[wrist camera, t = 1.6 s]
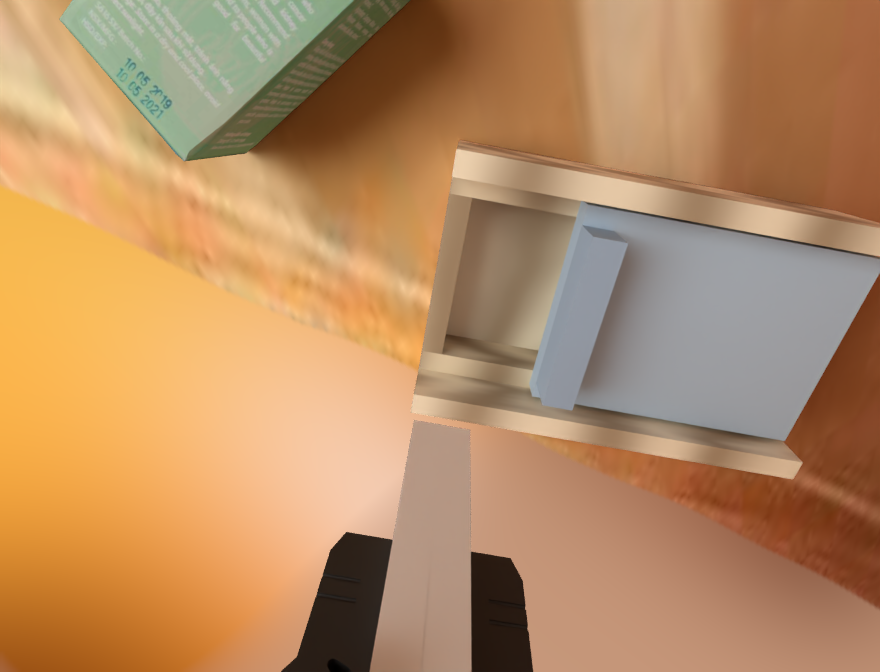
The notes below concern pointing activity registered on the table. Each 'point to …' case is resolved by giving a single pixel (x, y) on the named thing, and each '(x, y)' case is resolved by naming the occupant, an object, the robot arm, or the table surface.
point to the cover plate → (695, 321)
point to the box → (222, 60)
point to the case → (534, 284)
